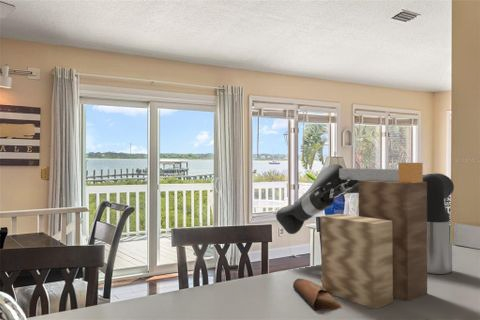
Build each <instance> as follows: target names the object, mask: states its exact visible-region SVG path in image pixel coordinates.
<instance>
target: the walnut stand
mask: <svg viewBox="0 0 480 320" xmlns="http://www.w3.org/2000/svg"><path fill="white" fill-rule="evenodd" d="M358 216H360V217H368V218H375V219H383V220H390V221H392V252H393V298H398V299H401V300H404V301H406V302H409V301H411V300H414V299H417V298H420V297H422V296H424V295H427V294H428V272H427V182H418V183H401V182H386V181H366V180H364V181H359V193H358Z"/></svg>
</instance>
